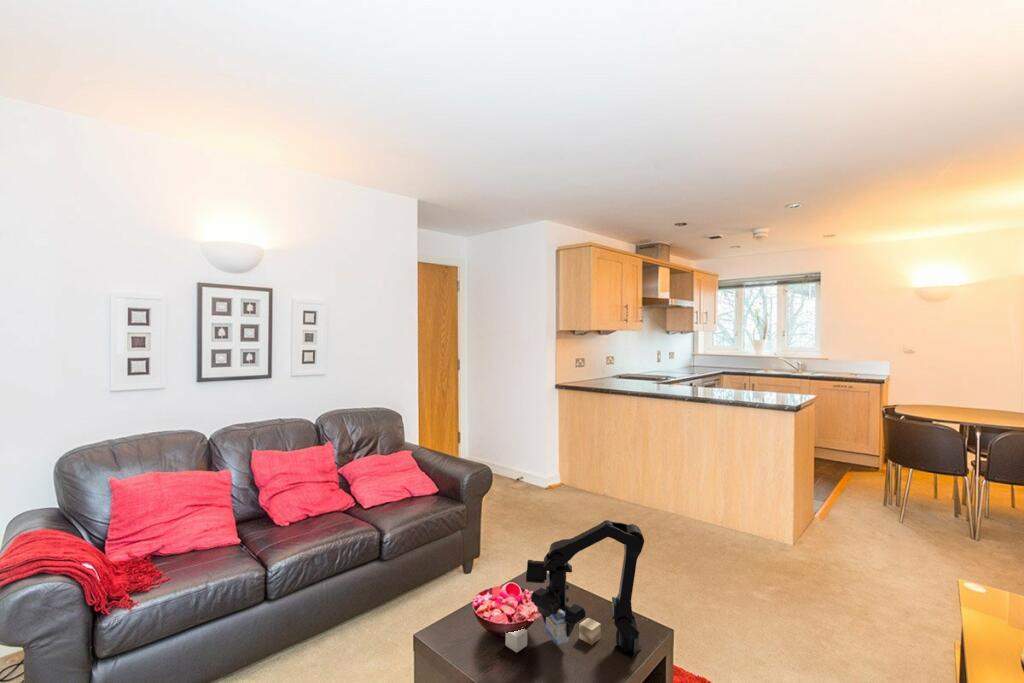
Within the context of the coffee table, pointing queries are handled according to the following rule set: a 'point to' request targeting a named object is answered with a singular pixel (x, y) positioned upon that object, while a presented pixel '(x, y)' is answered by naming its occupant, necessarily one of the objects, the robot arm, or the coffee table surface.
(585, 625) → the maple cube
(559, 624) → the medicine box
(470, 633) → the coffee table surface
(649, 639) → the coffee table surface
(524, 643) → the grey plastic cube
